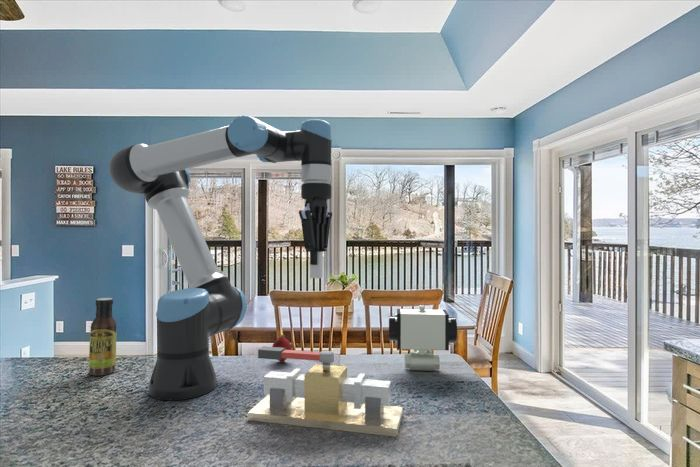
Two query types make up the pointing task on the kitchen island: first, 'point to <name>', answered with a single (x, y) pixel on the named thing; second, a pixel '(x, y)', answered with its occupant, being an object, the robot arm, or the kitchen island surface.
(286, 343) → the onion
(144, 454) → the kitchen island surface
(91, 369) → the sauce bottle
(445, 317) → the ball valve
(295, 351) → the lever
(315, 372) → the valve pipe
